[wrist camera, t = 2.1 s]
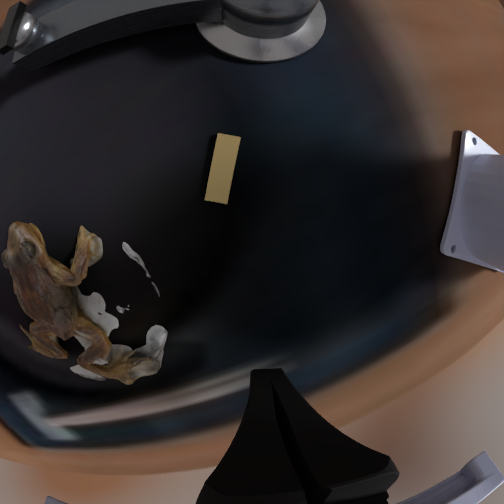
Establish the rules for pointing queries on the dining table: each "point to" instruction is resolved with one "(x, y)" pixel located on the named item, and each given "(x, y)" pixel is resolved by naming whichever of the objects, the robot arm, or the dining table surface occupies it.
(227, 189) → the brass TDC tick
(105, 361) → the frog figurine
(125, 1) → the crank
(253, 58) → the crank base plate
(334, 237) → the dining table surface
